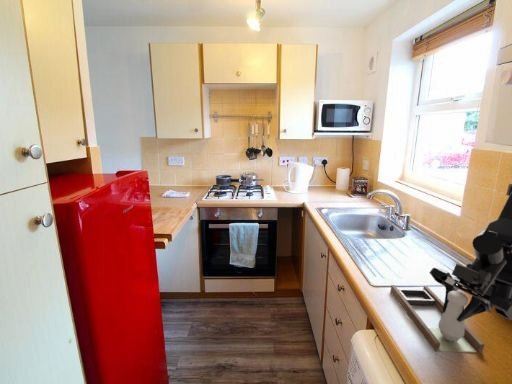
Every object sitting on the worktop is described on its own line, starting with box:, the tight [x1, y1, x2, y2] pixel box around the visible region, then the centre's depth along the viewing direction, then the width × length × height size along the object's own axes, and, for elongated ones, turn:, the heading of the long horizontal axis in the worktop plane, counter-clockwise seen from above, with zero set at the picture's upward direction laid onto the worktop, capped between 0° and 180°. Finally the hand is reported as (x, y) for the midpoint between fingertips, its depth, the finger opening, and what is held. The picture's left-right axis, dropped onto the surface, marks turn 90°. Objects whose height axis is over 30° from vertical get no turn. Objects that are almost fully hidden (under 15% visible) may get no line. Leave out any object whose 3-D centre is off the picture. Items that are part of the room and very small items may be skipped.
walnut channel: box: [390, 284, 485, 354], centre depth 84 cm, size 12×26×2 cm, turn 178°
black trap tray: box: [397, 288, 435, 307], centre depth 92 cm, size 9×6×2 cm, turn 88°
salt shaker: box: [437, 290, 469, 342], centre depth 74 cm, size 6×6×13 cm
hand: (450, 316), depth 73 cm, fingers closed on salt shaker, 3 cm apart
